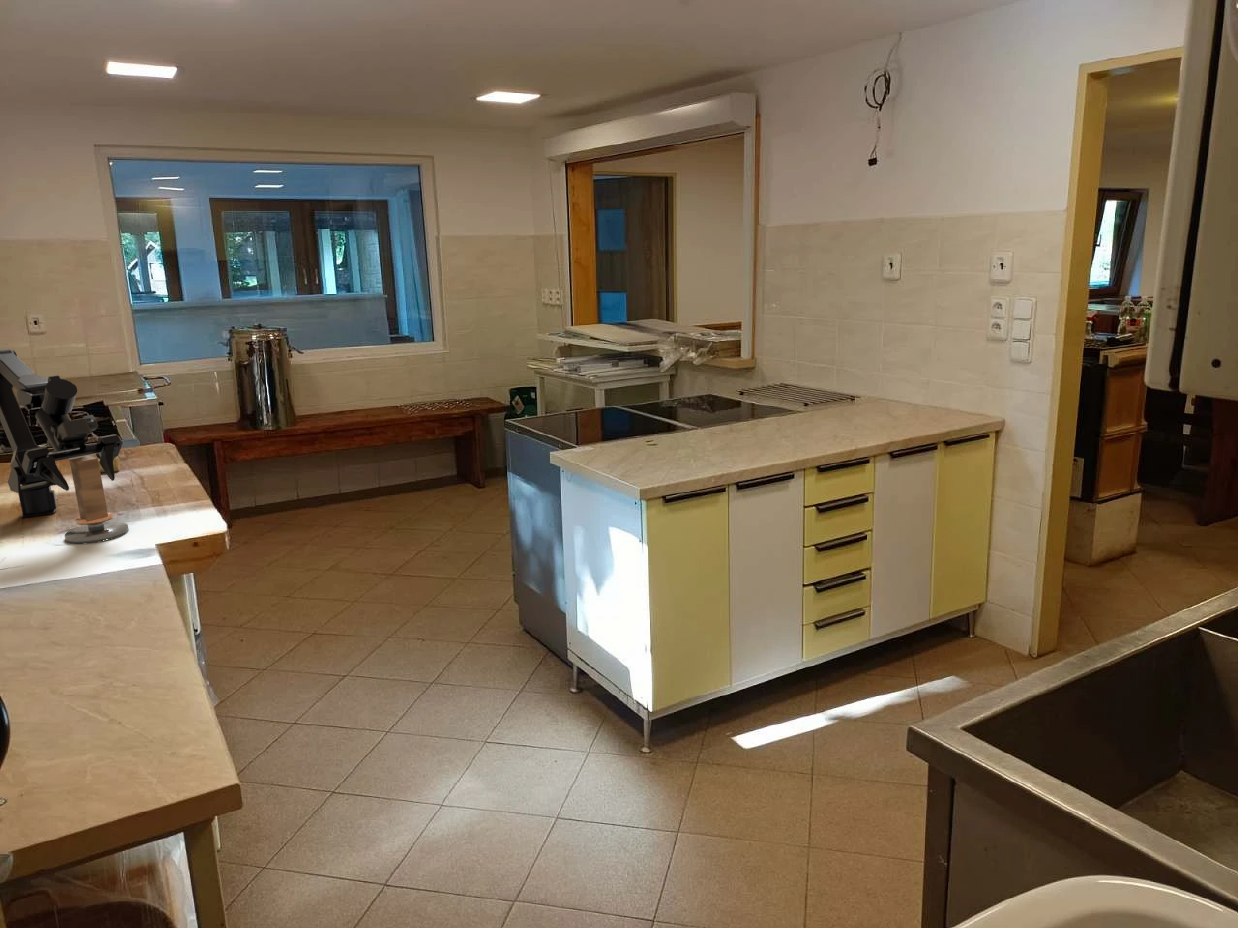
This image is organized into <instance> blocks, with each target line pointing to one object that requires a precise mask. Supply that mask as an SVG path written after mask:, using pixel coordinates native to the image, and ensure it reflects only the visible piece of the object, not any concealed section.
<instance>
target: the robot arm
mask: <svg viewBox="0 0 1238 928" xmlns="http://www.w3.org/2000/svg"><path fill="white" fill-rule="evenodd" d="M13 388H15V389H16V390H17V393H16V395H15V392H14V389H13ZM77 394H78V387H77V386H76V385H75V384H74V383H73V382H71V381H69V380H67V379H64V378H63V379H62V378H61V377H60V375H52V376H51V375H50V376H48V377H46V376H41V375H38V374H36V373H35V372H34V371H33V370H32V369H31V368H29V367H28V366H27V364H25V363H24V362H23V361H22V359H20V357H18V355H17V353H16V351H15V350H14V349H10V348H8V349H7V348H6V349H0V423H1V426H2V429H3V431H4V432H5V435H6V438H7V440H8V443H9V445H10V447H11V449H12V452H13V454H12V457H11V461H10V464H9V465H10V468H11V469H10V473H9V475H8V476H9V477H8V479H7V484H8V488H9V491H11V492H14V493H16V494H18V498H19V503H20V508H21V515H20V516H21V517H20V518H21V519H24V518H30V517H36V516H37V517H38V516H39V517H40V516H45V515H51V514H54V513H55V512H56V510H57V508H58V504H57V503H58V502H57V497H56V492H55V490H54V489H53V490H52V486H57V487H59V488H61V489H63V490H64V491H66V492H67V491H69V490H70V486H69V484H68V482H67V479H65V477H64V475H63V474H62V473H61V471H60V469H59V468H58V465H57V463H56V462H58V461H63V460H64V461H65V460H71V459H76V458H81V457H86V456H92V455H95V456H96V458H98V459H100V461H99V463H100V465H101V466H102V468H103V469H104V471H105V472H104V473H105V474H106V476H107V477H108V478H109V480H111V481H113V482H114V480H115V477H116V475H115V472H114V466H113V460H114V458H116V457H117V456H118V457H119V454H120V452H121V449H122V446H123V444H124V442H123V440H122V438H121V436H120V435H118V434H114V433H113V434H110V435H104V436H103V435H102V436H99V437H98V439H97V442H96V443H95V444H90V445H86V443H88V441H89V437H88V435H89V434H92V432H94V431H96V430H97V429H98V428H99V424H98V422H97V419H96V418H95V416H94V414H89V415H84V416H83V417H82V418H78V419H71V418H70V415H69V413H71V412H72V410H73V408H74V404H75V401H76V398H77ZM16 396H17V397H16ZM21 406H22V407H23V408H24V409H25V410H27V411H29V410H30V411H31V410H36V413H35V419H36V421H35V423H36V426H37V427H40V428H41V429H42V431H43V432H44V435H45V436H46V438H47V441H46V444H47V445H48V446H51V447H52V449H53V450H54V451H50V450H49V449H48V447H45V446H40V445H37V444H36V441H35V439H34V437H33V434H32V432H31V430H30V427H29V424H28V422H27V420H26V418H25V416H24V414H23V411H22V409H21Z"/></svg>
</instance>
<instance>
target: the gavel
mask: <svg viewBox="0 0 1238 928" xmlns="http://www.w3.org/2000/svg"><path fill="white" fill-rule="evenodd" d="M99 461H100V459H98V462H99ZM113 466H114V473H115V472H120V471H121V461H120V458H119V455H118V456H117V457H116V458H114V460H113ZM99 468H100V473H106V472H105V471H104V469H103V468H102V466H101V465H100V463H99Z"/></svg>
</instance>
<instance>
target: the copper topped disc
mask: <svg viewBox="0 0 1238 928" xmlns="http://www.w3.org/2000/svg"><path fill="white" fill-rule="evenodd" d="M107 512H108V511H107ZM113 518H114V514H113V513H112V512H108V516H107V517H103V518H99V519H95V520H91V521H87V520H85V519H82V518H80V516H78V517H77V518H75V524H77V525H81V526H78V527H75V528H73V529H71V530H69V531H67V532H66V533H64V539H65V542H66V543H69V544H73V545H75V544H76V545H84V544H83V543H87V544H93V543H92V542H96V543H99V542H98V541H101V542H104V541H103V540H106V539H110V540H112V539H111V538H114V539H116V538H115V537H117V538H119V537H122V536H124V535H126V534H127V533H128V532H129V525H128V523H126V522H124V521H110V520H112V519H113ZM125 533H126V534H125ZM123 534H124V535H123ZM121 535H122V536H121ZM118 536H119V537H118ZM106 541H107V540H106Z"/></svg>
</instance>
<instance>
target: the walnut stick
mask: <svg viewBox="0 0 1238 928" xmlns="http://www.w3.org/2000/svg"><path fill="white" fill-rule="evenodd" d="M69 464H70V470H71V476H72V481H73V485H74V490H75V497H76V501H77V507H78V512H79V517H80V518H82V519H85V520H87V521H91V520H95V519H99V518H103V517H107V516H108V507H107V501H106V496H105V491H104V484H103V480H102V475H101V473H100V468H99V462H98V458H97V456H96V457H95V456H92V455H88V456H83V457H78V458H73V459H69Z"/></svg>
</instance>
